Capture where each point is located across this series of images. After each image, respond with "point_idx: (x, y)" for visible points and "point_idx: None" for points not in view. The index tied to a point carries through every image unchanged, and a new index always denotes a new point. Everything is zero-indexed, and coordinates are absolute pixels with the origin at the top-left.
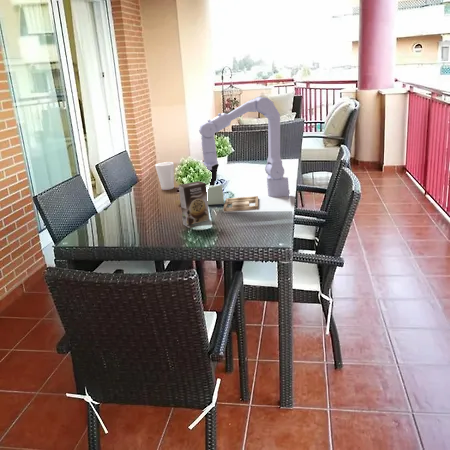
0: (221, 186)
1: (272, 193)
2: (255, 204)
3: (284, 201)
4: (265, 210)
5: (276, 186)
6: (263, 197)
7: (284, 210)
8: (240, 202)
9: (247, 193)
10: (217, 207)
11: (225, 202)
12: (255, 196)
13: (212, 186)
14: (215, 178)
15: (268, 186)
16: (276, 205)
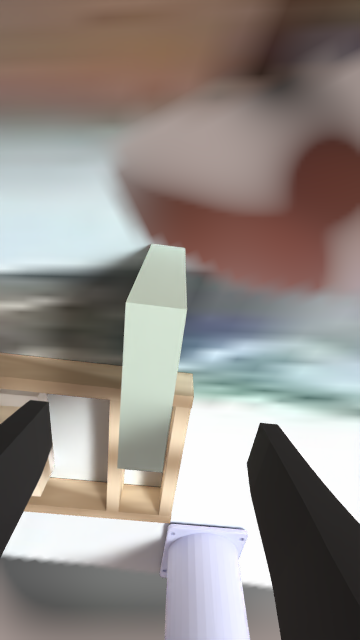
0: (118, 466)
1: (173, 569)
2: None
3: (135, 557)
4: None
5: (165, 622)
6: (234, 515)
7: (10, 545)
8: None
9: (355, 472)
10: None
11: (93, 388)
12: (167, 515)
13: (155, 398)
14: (255, 493)
15: (192, 602)
16: (86, 535)
